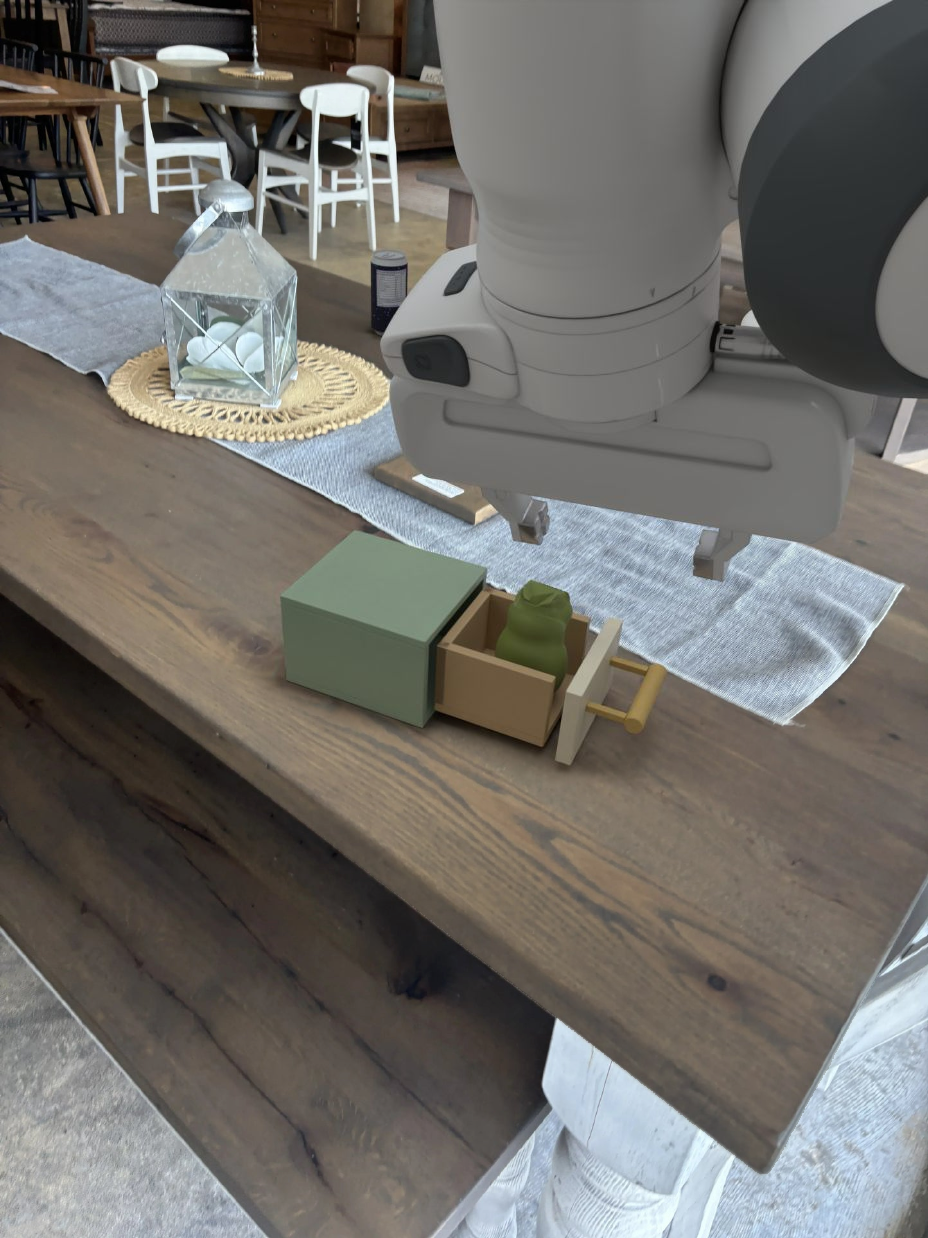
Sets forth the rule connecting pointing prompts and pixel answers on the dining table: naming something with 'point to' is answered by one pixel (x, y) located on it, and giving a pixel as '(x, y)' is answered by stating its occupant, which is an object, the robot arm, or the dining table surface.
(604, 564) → the dining table surface
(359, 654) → the cabinet
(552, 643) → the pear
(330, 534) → the dining table surface
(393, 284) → the beverage can
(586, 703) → the drawer
